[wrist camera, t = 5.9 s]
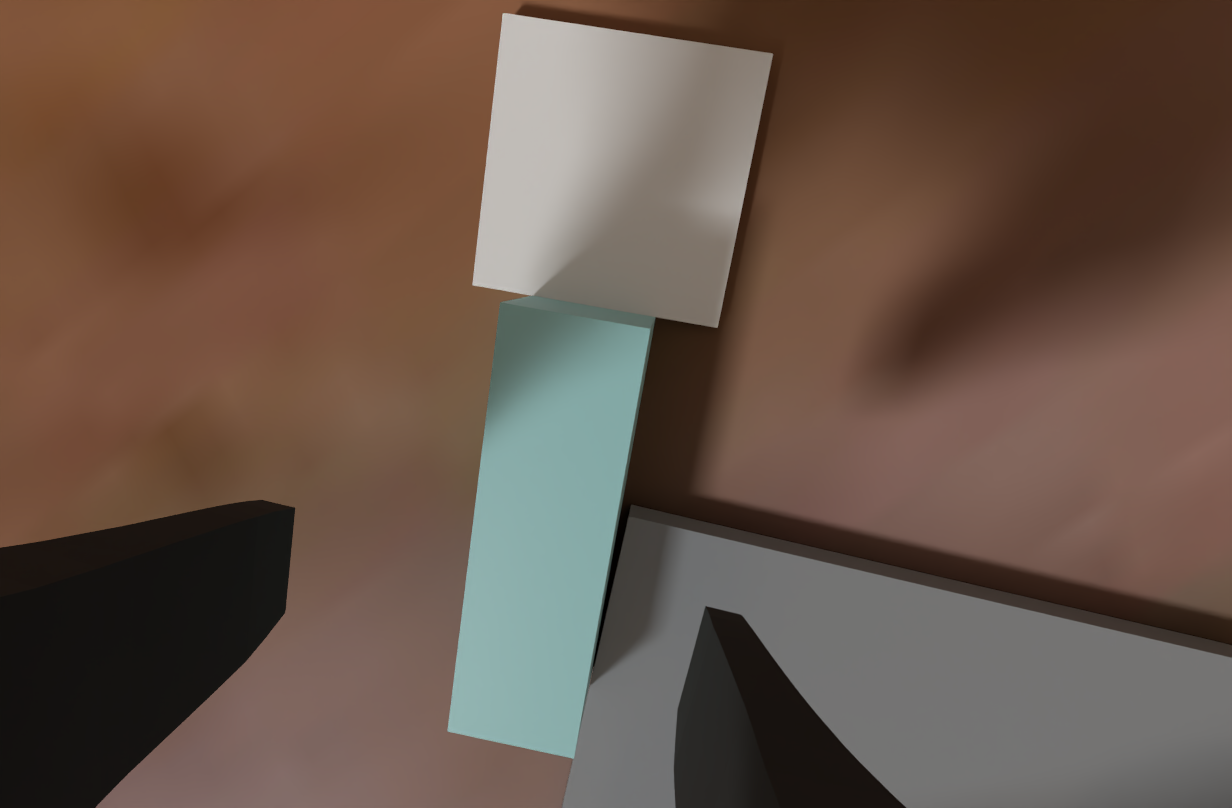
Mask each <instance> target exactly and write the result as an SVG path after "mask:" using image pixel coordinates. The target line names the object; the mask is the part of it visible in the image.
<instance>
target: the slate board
mask: <svg viewBox="0 0 1232 808" xmlns="http://www.w3.org/2000/svg"><path fill="white" fill-rule="evenodd" d="M705 606H708V607H712V608H716V609H720V610H724V611H728V612H733V613H737V614H741V615H742V616H743V617H744V618H745V620H746V621H747V622H748V624H749V625H750V626H751V628H752V629H753V630H754V632H755V633H756V635H757V636H758V637H759V639H760V640H761V642H762V643H763V644H764V646H765V647H766V649H767V650H768V651H769V653H770V654H771V655H772V657H773V658H774V660H775V661H776V662H777V664H778V665H779V666H780V668H781V669H782V670H783V672H784V673H785V674H786V676H787V677H788V678H789V680H790V681H791V682H792V684H793V685H794V686H795V688H796V689H797V690H798V691H799V693H800V694H801V695H802V696H803V698H804V699H805V700H806V701H807V703H808V704H809V705H810V706H811V708H812V709H813V710H814V711H815V712H816V714H817V715H818V716H819V717H820V718H821V719H822V721H823V722H824V723H825V724H826V725H827V726H828V727H829V729H830V730H831V731H832V732H833V733H834V734H835V736H836V737H837V738H838V739H839V740H840V741H841V742H842V744H843V745H844V746H845V747H846V748H847V749H848V750H849V751H850V752H851V753H852V754H853V755H854V756H855V758H856V759H857V760H858V761H859V762H860V763H861V764H862V765H863V766H864V767H865V768H866V769H867V770H868V771H869V772H870V773H871V774H872V775H873V776H874V777H875V778H876V779H877V780H878V781H879V782H880V783H881V784H882V785H883V786H884V787H885V788H886V789H887V790H888V791H889V792H890V793H891V794H892V795H893V796H895V797H896V798H897V799H898V800H899V801H900V802H901V803H902V804H903V805H904V806H905V807H906V808H1232V645H1230V644H1225V643H1221V642H1217V641H1213V640H1208V639H1204V638H1200V637H1195V636H1191V635H1187V634H1183V633H1178V632H1174V631H1170V630H1165V629H1161V628H1157V627H1153V626H1148V625H1144V624H1140V623H1136V622H1131V621H1127V620H1123V619H1118V618H1114V617H1110V616H1106V615H1101V614H1097V613H1093V612H1089V611H1084V610H1080V609H1076V608H1071V607H1067V606H1063V605H1059V604H1054V603H1050V602H1046V601H1041V600H1037V599H1033V598H1029V597H1024V596H1020V595H1016V594H1012V593H1007V592H1003V591H999V590H994V589H990V588H986V587H982V586H977V585H973V584H969V583H965V582H960V581H956V580H952V579H947V578H943V577H939V576H935V575H930V574H926V573H922V572H917V571H913V570H909V569H905V568H900V567H896V566H892V565H888V564H883V563H879V562H875V561H870V560H866V559H862V558H858V557H853V556H849V555H845V554H840V553H836V552H832V551H828V550H823V549H819V548H815V547H811V546H806V545H802V544H798V543H793V542H789V541H785V540H781V539H776V538H772V537H768V536H764V535H759V534H755V533H751V532H746V531H742V530H738V529H734V528H729V527H725V526H721V525H716V524H712V523H708V522H704V521H699V520H695V519H691V518H687V517H682V516H678V515H674V514H669V513H665V512H661V511H657V510H652V509H648V508H644V507H640V506H635V505H631V507H630V512H629V516H628V520H627V525H626V529H625V533H624V538H623V542H622V546H621V551H620V555H619V560H618V564H617V568H616V573H615V577H614V581H613V586H612V590H611V594H610V599H609V603H608V608H607V612H606V616H605V621H604V625H603V629H602V634H601V638H600V642H599V647H598V651H597V655H596V660H595V664H594V669H593V673H592V677H591V682H590V686H589V690H588V695H587V699H586V703H585V708H584V713H583V717H582V722H581V727H580V732H579V737H578V742H577V746H576V751H575V756H574V759H573V760H572V764H571V769H570V773H569V777H568V782H567V786H566V791H565V795H564V799H563V804H562V808H675V789H674V753H675V737H676V723H677V710H678V706H679V702H680V698H681V695H682V691H683V687H684V683H685V680H686V676H687V672H688V669H689V665H690V661H691V658H692V654H693V650H694V647H695V643H696V639H697V635H698V632H699V628H700V624H701V621H702V617H703V613H704V610H705Z"/></svg>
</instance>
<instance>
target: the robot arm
mask: <svg viewBox="0 0 1232 808" xmlns="http://www.w3.org/2000/svg"><path fill="white" fill-rule="evenodd" d="M294 514H295V508H293V507H289V506H285V505H281V504H277V503H272V502H268V501H264V500H256V501H246V502H239V503H233V504H227V505H222V506H216V507H211V508H206V509H201V510H197V511H192V512H187V513H183V514H178V515H173V516H168V517H164V518H159V519H154V520H150V521H145V522H140V523H136V524H131V525H126V526H121V527H116V528H110V529H105V530H100V531H95V532H89V533H84V534H79V535H73V536H68V537H63V538H57V539H52V540H47V541H41V542H35V543H29V544H23V545H16V546H9V547H2V548H0V808H95V807H96V806H97V805H98V804H99V803H100V802H101V801H102V800H103V799H104V798H105V797H106V796H107V795H108V794H109V793H110V792H111V791H112V789H113V788H114V787H115V786H116V785H117V784H118V783H119V782H120V781H121V780H122V779H123V778H124V777H125V776H126V775H127V774H128V773H129V772H130V771H131V770H132V769H134V768H135V767H136V766H137V765H138V764H139V763H140V762H141V761H142V760H143V759H144V758H145V757H146V756H147V755H148V754H149V753H150V752H152V751H153V750H154V749H155V748H156V747H157V746H158V745H159V744H160V743H161V742H162V741H163V740H164V739H165V738H166V737H167V736H168V735H169V734H171V733H172V732H173V731H174V730H175V729H176V728H177V727H178V726H179V725H180V724H181V723H182V722H183V721H184V720H185V719H186V718H187V717H189V716H190V715H191V714H192V713H193V712H194V711H195V710H196V709H197V708H198V707H199V706H200V705H201V704H202V703H203V702H204V701H205V700H207V699H208V698H209V697H210V696H211V695H212V694H213V693H214V692H215V691H216V690H217V689H218V688H219V687H220V686H221V685H222V684H223V683H224V682H225V681H226V680H227V679H228V678H229V677H230V676H231V675H232V674H233V673H234V672H236V671H237V670H238V669H239V668H240V667H241V666H242V665H243V664H244V663H245V662H246V661H247V659H248V658H249V657H250V656H251V655H252V653H253V652H254V651H255V650H256V649H257V647H258V646H259V645H260V644H261V643H262V641H263V640H264V639H265V638H266V637H267V635H268V634H269V633H270V631H271V630H272V629H273V628H274V626H275V625H276V624H277V622H278V621H279V620H280V619H281V617H282V616H283V615H284V613H285V610H286V599H287V588H288V578H289V567H290V557H291V546H292V535H293V525H294ZM674 789H675V808H906V807H905V806H904V805H903V804H902V803H901V802H900V801H899V800H898V799H897V798H896V797H895V796H893V795H892V794H891V793H890V792H889V791H888V790H887V789H886V788H885V787H884V786H883V785H882V784H881V783H880V782H879V781H878V780H877V779H876V778H875V777H874V776H873V775H872V774H871V773H870V772H869V771H868V770H867V769H866V768H865V767H864V766H863V765H862V764H861V763H860V762H859V761H858V760H857V759H856V758H855V756H854V755H853V754H852V753H851V752H850V751H849V750H848V749H847V748H846V747H845V746H844V745H843V744H842V742H841V741H840V740H839V739H838V738H837V737H836V736H835V734H834V733H833V732H832V731H831V730H830V729H829V727H828V726H827V725H826V724H825V723H824V722H823V721H822V719H821V718H820V717H819V716H818V715H817V714H816V712H815V711H814V710H813V709H812V708H811V706H810V705H809V704H808V703H807V701H806V700H805V699H804V698H803V696H802V695H801V694H800V693H799V691H798V690H797V689H796V688H795V686H794V685H793V684H792V682H791V681H790V680H789V678H788V677H787V676H786V674H785V673H784V672H783V670H782V669H781V668H780V666H779V665H778V664H777V662H776V661H775V660H774V658H773V657H772V655H771V654H770V653H769V651H768V650H767V649H766V647H765V646H764V644H763V643H762V642H761V640H760V639H759V637H758V636H757V635H756V633H755V632H754V630H753V629H752V628H751V626H750V625H749V624H748V622H747V621H746V620H745V618H744V617H743V616H742V615H741V614H737V613H733V612H728V611H724V610H720V609H716V608H712V607H708V606H705V610H704V613H703V617H702V621H701V624H700V628H699V632H698V635H697V639H696V643H695V647H694V650H693V654H692V658H691V661H690V665H689V669H688V672H687V676H686V680H685V683H684V687H683V691H682V695H681V698H680V702H679V706H678V710H677V723H676V737H675V753H674Z"/></svg>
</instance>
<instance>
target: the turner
mask: <svg viewBox="0 0 1232 808" xmlns="http://www.w3.org/2000/svg"><path fill="white" fill-rule="evenodd" d="M772 57H773V54H772V53H766V52H759V51H752V50H746V49H739V48H733V47H726V46H719V45H713V44H706V43H699V42H693V41H686V40H679V39H673V38H666V37H660V36H653V35H646V34H640V33H633V32H626V31H620V30H613V29H606V28H600V27H593V26H586V25H580V24H573V23H567V22H560V21H553V20H547V19H540V18H533V17H527V16H520V15H513V14H507V13H503V18H502V26H501V35H500V44H499V53H498V62H497V71H496V80H495V89H494V98H493V107H492V116H491V125H490V134H489V142H488V151H487V160H486V169H485V178H484V187H483V196H482V205H481V214H480V223H479V232H478V241H477V249H476V258H475V267H474V276H473V285H475V286H481V287H486V288H492V289H498V290H504V291H509V292H515V293H521V294H526V295H532V296H529V297H524V298H519V299H514V300H509V301H505V302H500V308H499V317H498V325H497V333H496V341H495V349H494V357H493V366H492V374H491V382H490V390H489V398H488V406H487V414H486V423H485V431H484V439H483V447H482V455H481V463H480V471H479V480H478V488H477V496H476V504H475V512H474V520H473V528H472V537H471V545H470V553H469V561H468V569H467V577H466V585H465V594H464V602H463V610H462V618H461V626H460V634H459V643H458V651H457V659H456V667H455V675H454V683H453V691H452V700H451V708H450V716H449V724H448V732H453V733H457V734H462V735H467V736H471V737H476V738H481V739H485V740H490V741H494V742H499V743H504V744H508V745H513V746H518V747H522V748H527V749H532V750H536V751H541V752H546V753H550V754H555V755H559V756H564V757H569V758H573V759H574V756H575V751H576V746H577V742H578V737H579V732H580V727H581V722H582V717H583V713H584V708H585V703H586V698H587V693H588V689H589V684H590V679H591V674H592V669H593V664H594V659H595V653H596V647H597V642H598V636H599V631H600V625H601V620H602V614H603V608H604V603H605V597H606V592H607V586H608V581H609V575H610V569H611V564H612V558H613V553H614V547H615V542H616V536H617V530H618V525H619V519H620V514H621V508H622V503H623V497H624V491H625V486H626V480H627V475H628V469H629V463H630V458H631V452H632V447H633V441H634V436H635V430H636V424H637V419H638V413H639V408H640V402H641V397H642V391H643V385H644V380H645V374H646V369H647V363H648V358H649V352H650V346H651V341H652V335H653V330H654V324H655V319H656V317H658V318H663V319H669V320H675V321H681V322H686V323H692V324H698V325H703V326H709V327H715V328H718V324H719V319H720V314H721V309H722V304H723V299H724V294H725V289H726V284H727V279H728V274H729V270H730V265H731V260H732V255H733V250H734V245H735V240H736V235H737V230H738V225H739V220H740V215H741V210H742V205H743V200H744V195H745V191H746V186H747V181H748V176H749V171H750V166H751V161H752V156H753V151H754V146H755V141H756V136H757V131H758V126H759V121H760V116H761V111H762V107H763V102H764V97H765V92H766V87H767V82H768V77H769V72H770V67H771V62H772Z"/></svg>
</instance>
